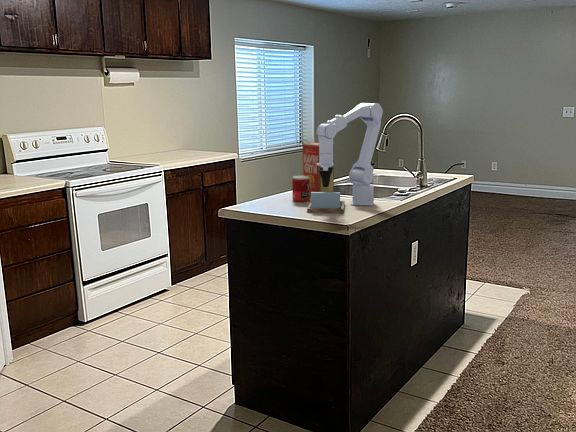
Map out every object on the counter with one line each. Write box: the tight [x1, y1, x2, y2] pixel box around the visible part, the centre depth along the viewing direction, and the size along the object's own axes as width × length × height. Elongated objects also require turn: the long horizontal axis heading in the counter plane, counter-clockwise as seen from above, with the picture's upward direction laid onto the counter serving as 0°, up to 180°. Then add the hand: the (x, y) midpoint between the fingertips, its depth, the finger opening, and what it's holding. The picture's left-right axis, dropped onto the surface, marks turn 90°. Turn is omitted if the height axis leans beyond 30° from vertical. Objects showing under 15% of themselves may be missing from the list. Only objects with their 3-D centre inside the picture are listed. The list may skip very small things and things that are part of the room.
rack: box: [306, 200, 345, 214], centre depth 244 cm, size 15×18×2 cm
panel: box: [310, 191, 341, 209], centre depth 238 cm, size 12×2×8 cm, turn 83°
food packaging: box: [302, 142, 335, 198], centre depth 270 cm, size 13×9×25 cm
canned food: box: [291, 175, 310, 203], centre depth 261 cm, size 8×8×11 cm
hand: (326, 185), depth 240 cm, fingers open, 7 cm apart
